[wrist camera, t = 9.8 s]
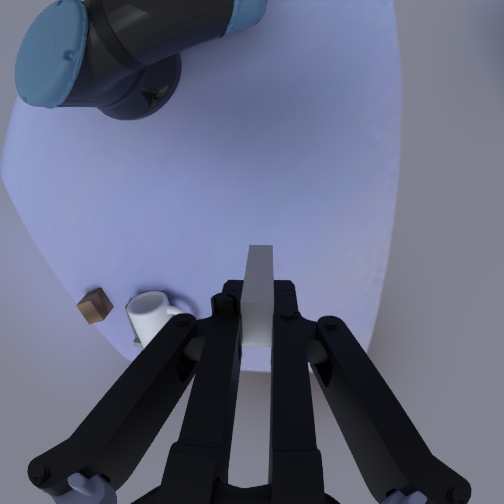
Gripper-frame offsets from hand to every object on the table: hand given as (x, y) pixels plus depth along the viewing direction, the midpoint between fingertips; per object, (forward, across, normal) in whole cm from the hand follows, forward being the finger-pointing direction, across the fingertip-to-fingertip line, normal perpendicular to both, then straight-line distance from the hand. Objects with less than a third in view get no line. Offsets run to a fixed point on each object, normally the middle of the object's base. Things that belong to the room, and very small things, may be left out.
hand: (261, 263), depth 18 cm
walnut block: (+25, -35, -22) cm, 48 cm away
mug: (+25, -18, -24) cm, 39 cm away
